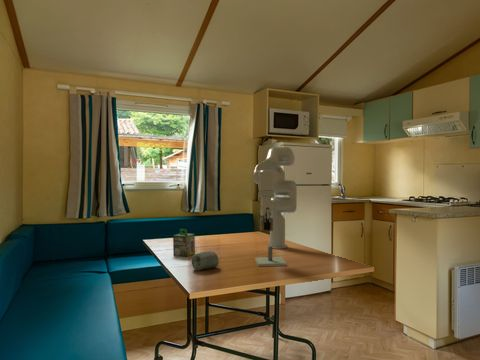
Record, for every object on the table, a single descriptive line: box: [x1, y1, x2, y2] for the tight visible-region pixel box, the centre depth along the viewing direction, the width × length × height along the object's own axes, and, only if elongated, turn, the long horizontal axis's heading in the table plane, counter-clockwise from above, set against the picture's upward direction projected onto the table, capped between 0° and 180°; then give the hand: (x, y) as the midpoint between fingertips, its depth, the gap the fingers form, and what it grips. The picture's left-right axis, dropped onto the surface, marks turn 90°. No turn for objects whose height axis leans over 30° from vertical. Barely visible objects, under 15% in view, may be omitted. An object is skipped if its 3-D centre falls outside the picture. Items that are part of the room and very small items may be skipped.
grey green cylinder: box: [190, 250, 219, 272], centre depth 163 cm, size 14×10×10 cm
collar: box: [259, 217, 273, 232], centre depth 176 cm, size 6×6×6 cm
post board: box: [254, 245, 287, 267], centre depth 176 cm, size 14×14×8 cm
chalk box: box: [172, 228, 196, 258], centre depth 195 cm, size 9×9×15 cm
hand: (266, 228), depth 176 cm, fingers closed on collar, 6 cm apart
